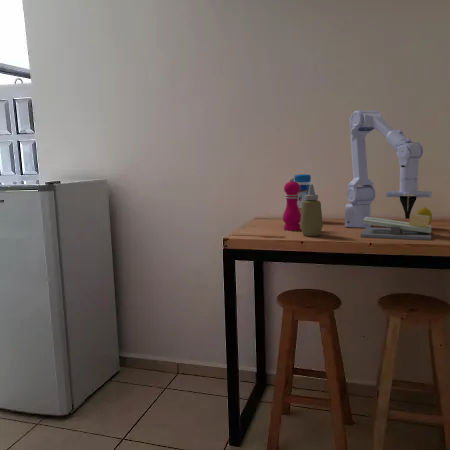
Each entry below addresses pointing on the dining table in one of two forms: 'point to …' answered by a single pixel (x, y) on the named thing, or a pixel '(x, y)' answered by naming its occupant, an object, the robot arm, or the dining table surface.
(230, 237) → the dining table surface
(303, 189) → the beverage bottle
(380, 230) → the pivot stand
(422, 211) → the lemon
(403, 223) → the beam
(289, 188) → the pepper mill
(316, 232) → the squeeze bottle
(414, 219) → the tan block
